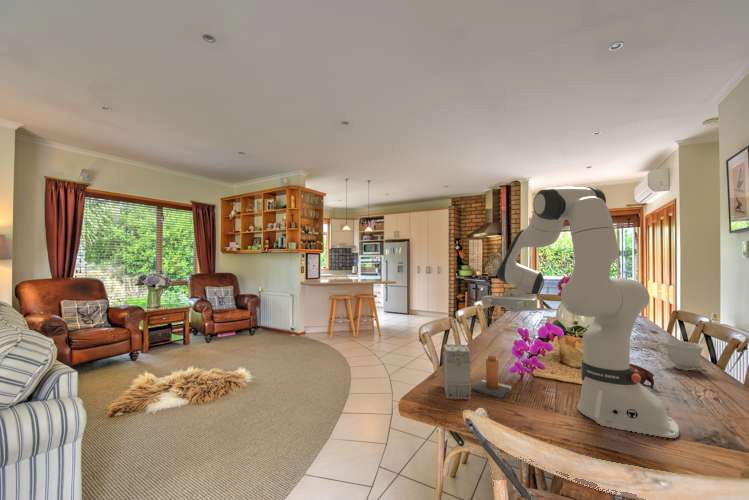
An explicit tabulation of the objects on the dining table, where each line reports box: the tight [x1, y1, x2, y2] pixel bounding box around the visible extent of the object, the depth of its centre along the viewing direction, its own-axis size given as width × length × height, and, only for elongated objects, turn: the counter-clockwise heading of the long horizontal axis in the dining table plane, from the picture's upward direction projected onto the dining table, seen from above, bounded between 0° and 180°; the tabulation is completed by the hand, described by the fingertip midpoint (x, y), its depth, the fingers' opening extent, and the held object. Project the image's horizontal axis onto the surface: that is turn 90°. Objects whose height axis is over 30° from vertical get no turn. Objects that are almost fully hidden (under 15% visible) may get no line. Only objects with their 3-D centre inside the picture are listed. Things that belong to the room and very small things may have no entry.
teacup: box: [655, 339, 705, 371], centre depth 136 cm, size 12×15×10 cm
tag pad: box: [471, 379, 512, 399], centre depth 113 cm, size 10×10×1 cm
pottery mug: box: [629, 363, 655, 388], centre depth 116 cm, size 12×10×8 cm
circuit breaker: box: [442, 343, 472, 400], centre depth 113 cm, size 8×14×15 cm, turn 174°
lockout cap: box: [485, 355, 499, 389], centre depth 113 cm, size 4×4×10 cm
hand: (502, 304), depth 123 cm, fingers open, 8 cm apart
